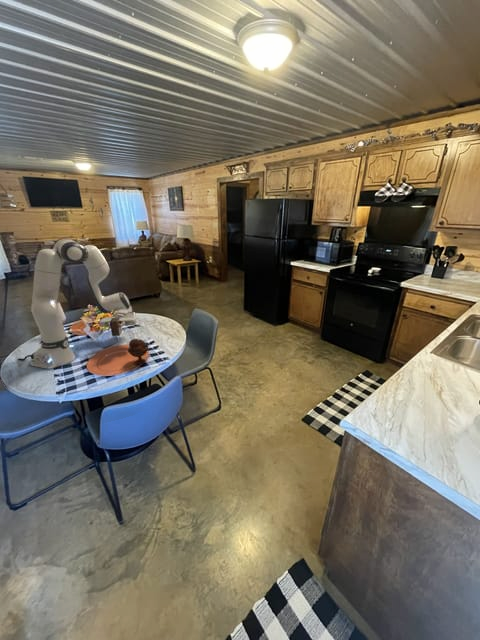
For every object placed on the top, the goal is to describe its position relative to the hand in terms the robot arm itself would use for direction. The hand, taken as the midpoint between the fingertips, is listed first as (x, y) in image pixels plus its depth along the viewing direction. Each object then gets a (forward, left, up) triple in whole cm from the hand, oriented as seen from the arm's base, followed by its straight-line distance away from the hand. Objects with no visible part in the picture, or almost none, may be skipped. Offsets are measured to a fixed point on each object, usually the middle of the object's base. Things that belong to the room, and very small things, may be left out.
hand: (115, 326), depth 150 cm
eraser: (0, +1, -5) cm, 5 cm away
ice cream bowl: (+15, -6, -19) cm, 25 cm away
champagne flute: (-52, +22, -19) cm, 60 cm away
